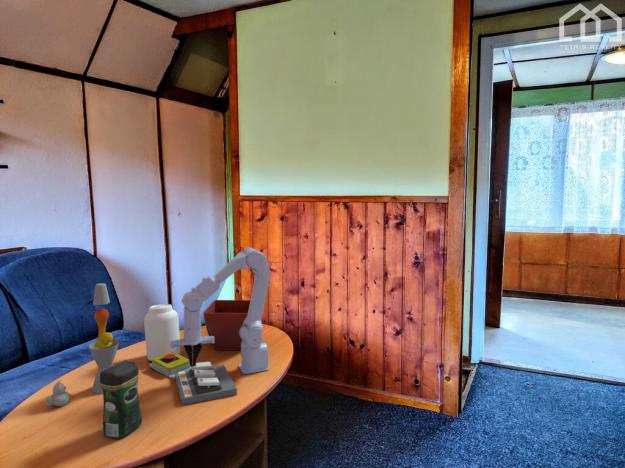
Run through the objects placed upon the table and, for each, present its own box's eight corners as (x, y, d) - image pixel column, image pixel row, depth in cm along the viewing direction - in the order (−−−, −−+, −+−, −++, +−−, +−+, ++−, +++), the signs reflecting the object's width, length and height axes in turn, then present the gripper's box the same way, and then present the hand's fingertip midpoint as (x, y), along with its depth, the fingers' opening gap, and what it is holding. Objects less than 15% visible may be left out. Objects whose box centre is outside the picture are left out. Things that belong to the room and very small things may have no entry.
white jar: (160, 364, 157) (156, 310, 156) (140, 359, 164) (136, 307, 163) (187, 353, 168) (184, 303, 167) (167, 349, 175) (163, 301, 174)
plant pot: (251, 354, 170) (250, 312, 168) (203, 353, 170) (202, 312, 168) (258, 337, 189) (257, 299, 187) (215, 336, 189) (214, 299, 187)
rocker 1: (209, 364, 151) (209, 361, 151) (211, 368, 148) (211, 365, 148) (190, 366, 148) (191, 363, 148) (192, 370, 145) (192, 367, 145)
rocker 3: (216, 380, 139) (217, 377, 139) (218, 385, 136) (219, 381, 136) (196, 380, 136) (197, 377, 136) (198, 385, 133) (199, 382, 133)
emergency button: (170, 347, 163) (194, 358, 154) (170, 358, 164) (194, 370, 155) (148, 354, 156) (172, 367, 147) (148, 366, 157) (172, 379, 147)
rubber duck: (73, 403, 131) (72, 378, 130) (50, 413, 126) (48, 387, 125) (65, 398, 134) (63, 374, 133) (42, 407, 129) (40, 382, 128)
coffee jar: (124, 417, 123) (121, 356, 121) (146, 423, 120) (143, 360, 118) (97, 436, 114) (93, 369, 112) (120, 442, 111) (116, 374, 109)
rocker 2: (212, 372, 145) (213, 369, 145) (214, 376, 142) (215, 373, 142) (193, 372, 142) (194, 369, 142) (195, 377, 139) (195, 373, 139)
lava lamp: (84, 391, 139) (78, 286, 135) (106, 379, 147) (101, 280, 143) (106, 396, 136) (100, 288, 132) (127, 383, 144) (122, 282, 140)
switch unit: (223, 369, 155) (223, 360, 155) (237, 394, 137) (236, 383, 136) (174, 378, 148) (174, 368, 148) (181, 405, 130) (181, 393, 130)
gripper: (171, 333, 139) (171, 373, 140) (216, 328, 145) (216, 366, 146) (169, 326, 145) (169, 365, 147) (212, 322, 151) (212, 359, 152)
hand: (192, 365), depth 147 cm, fingers closed, pressing on rocker 1
